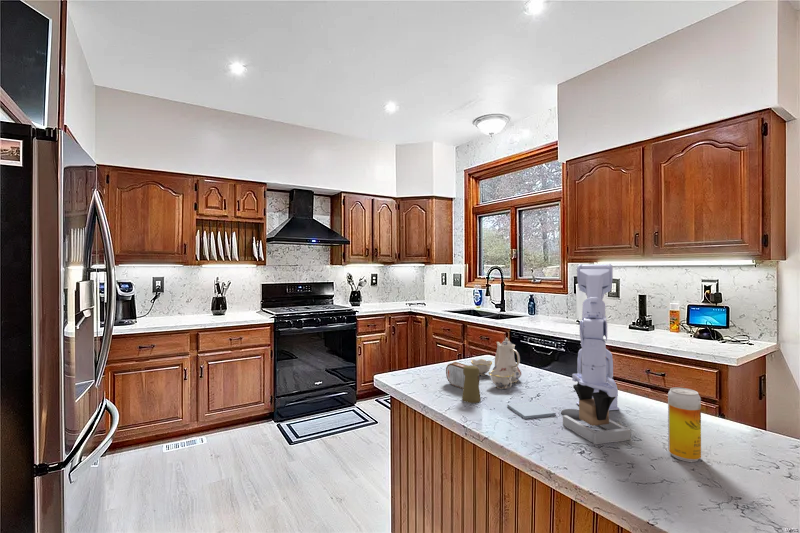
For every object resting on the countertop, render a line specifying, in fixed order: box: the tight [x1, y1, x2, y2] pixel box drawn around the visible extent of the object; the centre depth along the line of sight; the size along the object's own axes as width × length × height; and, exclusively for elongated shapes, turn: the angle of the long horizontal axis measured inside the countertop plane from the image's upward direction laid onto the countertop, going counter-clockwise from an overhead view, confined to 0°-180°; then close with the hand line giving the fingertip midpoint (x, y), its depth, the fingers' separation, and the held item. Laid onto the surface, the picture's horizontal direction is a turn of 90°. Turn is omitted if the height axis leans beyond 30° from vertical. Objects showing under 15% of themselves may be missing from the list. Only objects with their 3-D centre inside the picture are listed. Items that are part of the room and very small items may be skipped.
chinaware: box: [470, 337, 522, 390], centre depth 152 cm, size 28×17×17 cm, turn 17°
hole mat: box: [560, 408, 582, 421], centre depth 116 cm, size 8×8×1 cm
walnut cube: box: [578, 399, 610, 427], centre depth 105 cm, size 5×5×5 cm
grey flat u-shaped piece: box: [562, 415, 632, 445], centre depth 104 cm, size 10×12×2 cm
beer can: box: [667, 386, 702, 463], centre depth 91 cm, size 6×6×15 cm
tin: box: [445, 361, 480, 390], centre depth 143 cm, size 15×3×8 cm, turn 35°
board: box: [506, 401, 557, 420], centre depth 119 cm, size 10×10×1 cm
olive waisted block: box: [461, 364, 482, 404], centre depth 130 cm, size 6×6×11 cm
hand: (593, 415), depth 105 cm, fingers closed on walnut cube, 5 cm apart
